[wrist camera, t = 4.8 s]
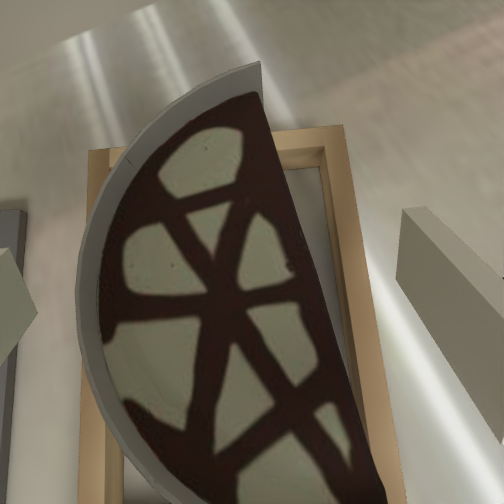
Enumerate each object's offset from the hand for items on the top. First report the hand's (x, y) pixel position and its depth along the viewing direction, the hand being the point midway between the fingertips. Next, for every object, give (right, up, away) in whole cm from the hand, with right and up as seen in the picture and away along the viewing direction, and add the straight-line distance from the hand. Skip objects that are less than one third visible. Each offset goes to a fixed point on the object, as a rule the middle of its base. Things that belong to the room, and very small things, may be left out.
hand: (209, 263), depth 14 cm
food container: (+1, -3, +5) cm, 6 cm away
